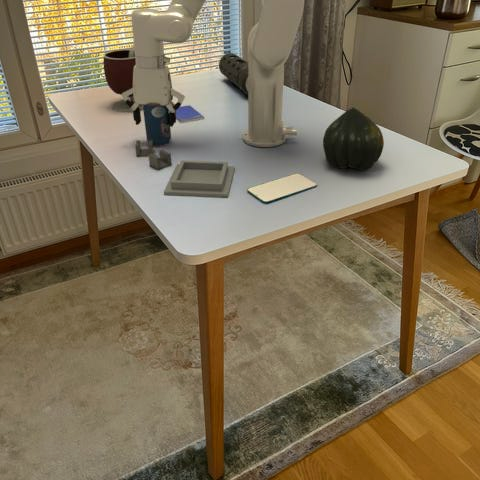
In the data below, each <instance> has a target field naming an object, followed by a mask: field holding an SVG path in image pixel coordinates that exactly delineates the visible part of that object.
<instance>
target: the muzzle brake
mask: <svg viewBox="0 0 480 480" xmlns="http://www.w3.org/2000/svg"><path fill="white" fill-rule="evenodd" d="M218 70H219V72H220V73H221V75H223V76H224V77H225V78H227V80H229V81H230V82H232V83H233V84H234V85H236V86H237V87H238V88H239V89H240V90H241V91H242V92H243V93H245V94H246V95H247V96H248V84H249V68H248V60H247V61H246V60H245V59H243V58H242V57H240V55H239V56H238V55H237V54H236V53H233V52H227V53H225V54H223V55H222V57H221V58H220V59H219V61H218Z"/></svg>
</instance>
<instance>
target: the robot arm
mask: <svg viewBox="0 0 480 480" xmlns="http://www.w3.org/2000/svg"><path fill="white" fill-rule="evenodd" d="M206 1H207V0H171V2H170V4H169V5H168V8H167V9H166V11H165V12H160V11H159V10H158V9H155V8H148V7H147V8H138V9H134V10H133V11H132V12H131V16H130V19H131V29H132V39H133V45H134V50H135V61H136V65H135V66H134V70H133V87H132V88H130V89H129V90H127V91H125V92H123V93H122V94H121V95H120V96H121V98H122V100H125V102H126V104H127V105H128V106H129V107H130V108H131V110H132V111H133V112H132V115H133V116H132V117H133V121H135V125H136V126H138V125H140V124H141V122H142V115H141V111H140V108H138V106H139V104H140V105H146V104H150V105H157V104H160V105H161V106H166V107H167V108H168V109H169V110H170V112H169V123H170V128H171V127H174V125H175V124H176V123H177V120H176V110H177V109H178V108H179V107H181V106H182V104H183V102H184V99H185V98H186V97H185V95H184V94H182V93H181V92H179V91H177V90H175V89H173V84H172V79H171V78H172V77H171V73H170V68H169V66H168V65H167V64H170V63H171V58H170V57H168V56H166V54H165V48H164V46H165V45H164V42H165V43H170V44H183V43H185V42H187V41H188V40H189V39H190V37H191V35H192V33H193V25H194V23H195V21H196V19H197V18H198V15H199V14H200V12H201V10H202V8H203V7H204V5H205V3H206ZM260 1H261V6H262V9H261V12H260V16H259V19H258V22H257V23H256V24H255V25H254V26H252V28H251V30H250V31H249V34H248V37H247V58H248V59H247V62H248V68H249V84H248V95H247V96H248V97H247V99H248V106H247V107H248V113H247V116H248V117H247V118H248V121H247V122H248V126H247V129H248V130H246V131H245V132H243V134H242V139H243V141H244V142H245V143H246V144H247V145H250V146H254V147H256V148H257V147H258V148H271V147H277V146H279V145H282V144H285V142H286V141H287V136H290V137H291V136H294V137H297V136H298V128H294V127H293V126H290V125H289V126H286V125H284V124H283V122H284V121H283V99H284V98H283V97H284V95H283V94H284V80H285V79H284V78H285V77H284V76H285V74H284V73H285V63H286V62H287V61H288V58H289V57H290V55H291V52H292V49H293V45H294V42H295V40H296V36H297V33H298V30H299V26H300V23H301V20H302V17H303V13H304V8H305V0H260ZM132 93H133V97H134V101H135V103H134V102H133V101H132V100H131V99H130V98H129V95H130V94H132ZM174 98H176V99H177V102H176V103H174V101H173V99H174Z"/></svg>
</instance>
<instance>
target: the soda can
mask: <svg viewBox="0 0 480 480" xmlns="http://www.w3.org/2000/svg"><path fill="white" fill-rule="evenodd" d="M142 111H143V119H144V120H143V121H144V126H145V127H144V129H145V137H146V140H147V142H149V140H153V147H163V146H166V145H168V144H170V142H171V139H172V134H171V127H170V123H169V109H168V108H167V107H166V106H161V105H160V104H157V105H150V104H146V105H144V107H143V110H142Z"/></svg>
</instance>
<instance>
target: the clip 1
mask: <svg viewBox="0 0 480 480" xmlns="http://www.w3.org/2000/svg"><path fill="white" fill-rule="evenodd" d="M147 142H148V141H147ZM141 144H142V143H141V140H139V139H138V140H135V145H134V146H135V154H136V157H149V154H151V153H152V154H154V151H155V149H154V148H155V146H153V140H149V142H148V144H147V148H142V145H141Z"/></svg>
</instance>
